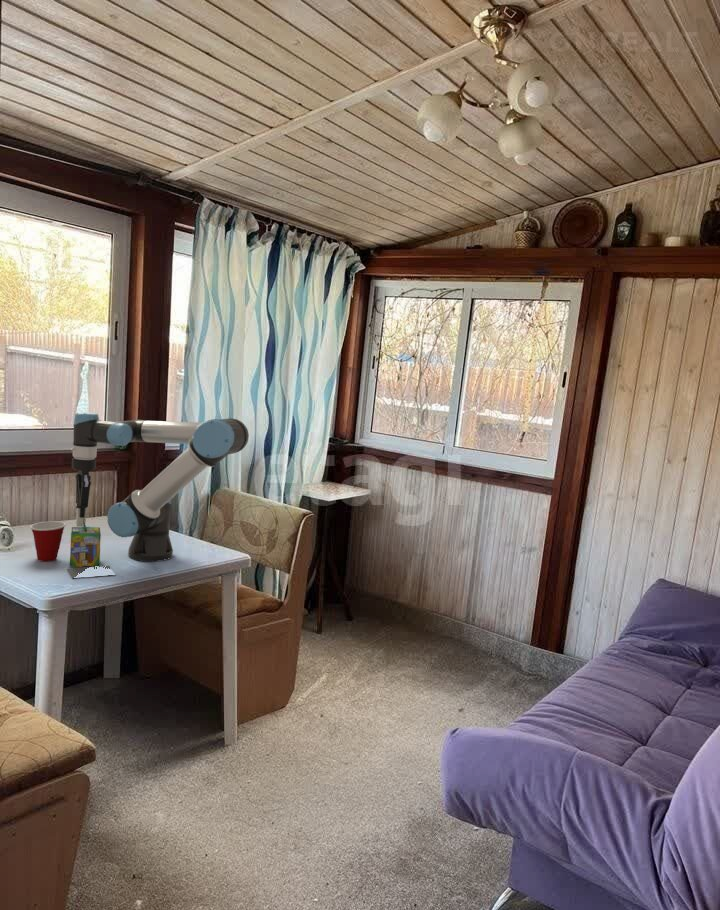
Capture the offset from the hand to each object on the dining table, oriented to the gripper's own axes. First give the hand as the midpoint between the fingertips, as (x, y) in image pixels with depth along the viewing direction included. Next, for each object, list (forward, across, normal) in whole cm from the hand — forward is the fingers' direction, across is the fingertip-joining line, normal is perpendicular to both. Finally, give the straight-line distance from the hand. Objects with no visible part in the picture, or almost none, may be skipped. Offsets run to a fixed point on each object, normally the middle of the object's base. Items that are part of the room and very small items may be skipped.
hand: (80, 526), depth 234 cm
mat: (+10, +20, 0) cm, 22 cm away
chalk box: (+11, +9, 0) cm, 14 cm away
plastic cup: (+11, +2, -11) cm, 15 cm away
